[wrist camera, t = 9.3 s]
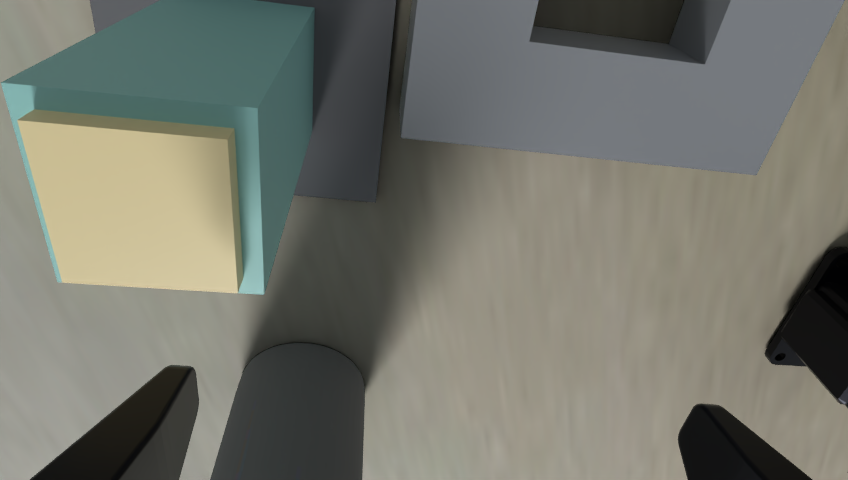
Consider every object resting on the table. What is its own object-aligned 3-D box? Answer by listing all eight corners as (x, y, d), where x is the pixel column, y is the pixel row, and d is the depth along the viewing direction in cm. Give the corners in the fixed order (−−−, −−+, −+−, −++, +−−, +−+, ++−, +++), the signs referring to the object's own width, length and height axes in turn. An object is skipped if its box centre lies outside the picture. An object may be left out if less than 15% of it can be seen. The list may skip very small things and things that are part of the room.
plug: (314, 7, 17) (251, 118, 9) (312, 131, 19) (259, 310, 11) (177, -10, 16) (-19, 92, 8) (191, 119, 19) (44, 297, 11)
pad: (403, -73, 16) (403, -72, 16) (376, 197, 21) (375, 202, 21) (75, -122, 15) (68, -122, 15) (125, 174, 20) (121, 179, 20)
